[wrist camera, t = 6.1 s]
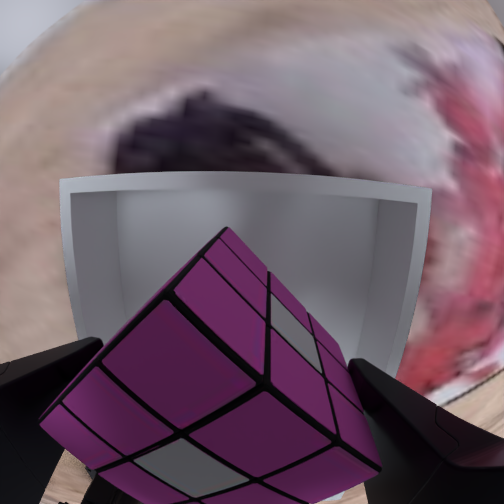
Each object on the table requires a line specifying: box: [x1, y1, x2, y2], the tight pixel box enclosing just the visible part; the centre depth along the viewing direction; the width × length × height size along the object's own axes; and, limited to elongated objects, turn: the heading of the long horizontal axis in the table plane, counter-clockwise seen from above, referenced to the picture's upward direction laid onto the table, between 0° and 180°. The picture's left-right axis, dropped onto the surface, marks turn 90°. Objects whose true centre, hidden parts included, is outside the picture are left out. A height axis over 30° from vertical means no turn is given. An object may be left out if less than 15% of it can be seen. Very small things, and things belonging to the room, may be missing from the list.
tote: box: [60, 171, 432, 501], centre depth 14 cm, size 19×14×4 cm
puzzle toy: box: [38, 226, 382, 504], centre depth 7 cm, size 6×6×6 cm
